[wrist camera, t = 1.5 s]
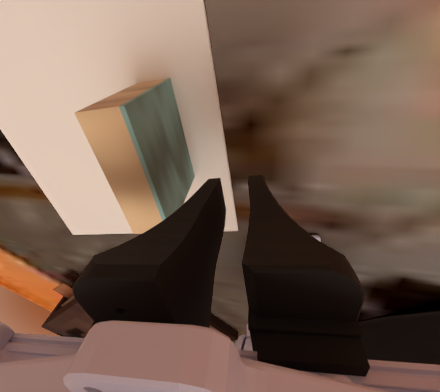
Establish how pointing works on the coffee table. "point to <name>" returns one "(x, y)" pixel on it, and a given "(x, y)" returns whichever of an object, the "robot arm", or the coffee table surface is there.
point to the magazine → (403, 338)
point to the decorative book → (81, 322)
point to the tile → (141, 150)
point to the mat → (103, 93)
